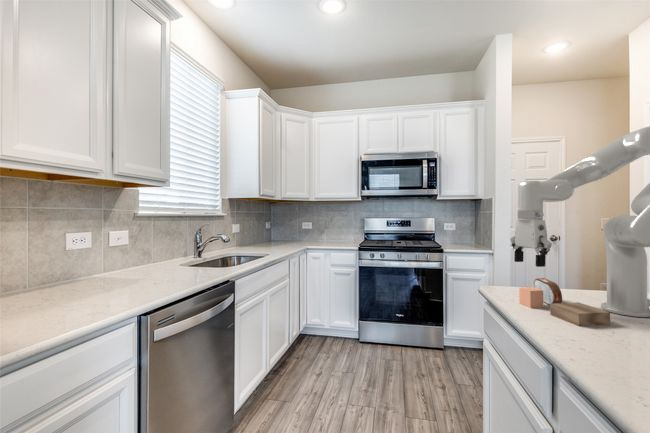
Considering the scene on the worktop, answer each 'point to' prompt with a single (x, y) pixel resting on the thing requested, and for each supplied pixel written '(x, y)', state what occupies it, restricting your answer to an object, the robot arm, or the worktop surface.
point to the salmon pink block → (531, 297)
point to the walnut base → (580, 314)
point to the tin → (549, 291)
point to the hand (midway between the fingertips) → (529, 264)
